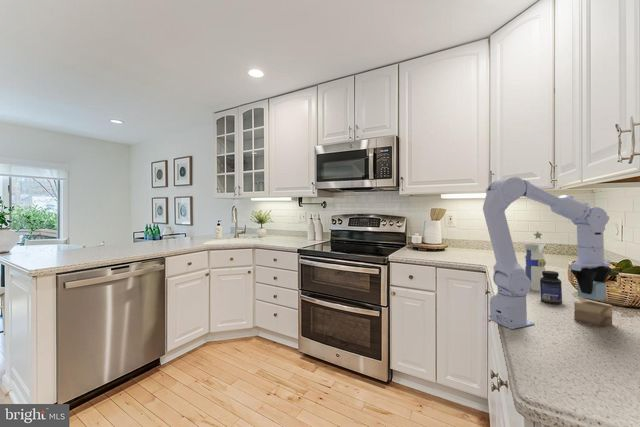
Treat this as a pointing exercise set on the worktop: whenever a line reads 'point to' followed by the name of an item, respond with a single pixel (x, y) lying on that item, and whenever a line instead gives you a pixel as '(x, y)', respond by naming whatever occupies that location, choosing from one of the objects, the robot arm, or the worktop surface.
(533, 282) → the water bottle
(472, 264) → the worktop surface
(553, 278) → the pill bottle
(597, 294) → the cube
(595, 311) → the slab upper
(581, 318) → the slab lower
